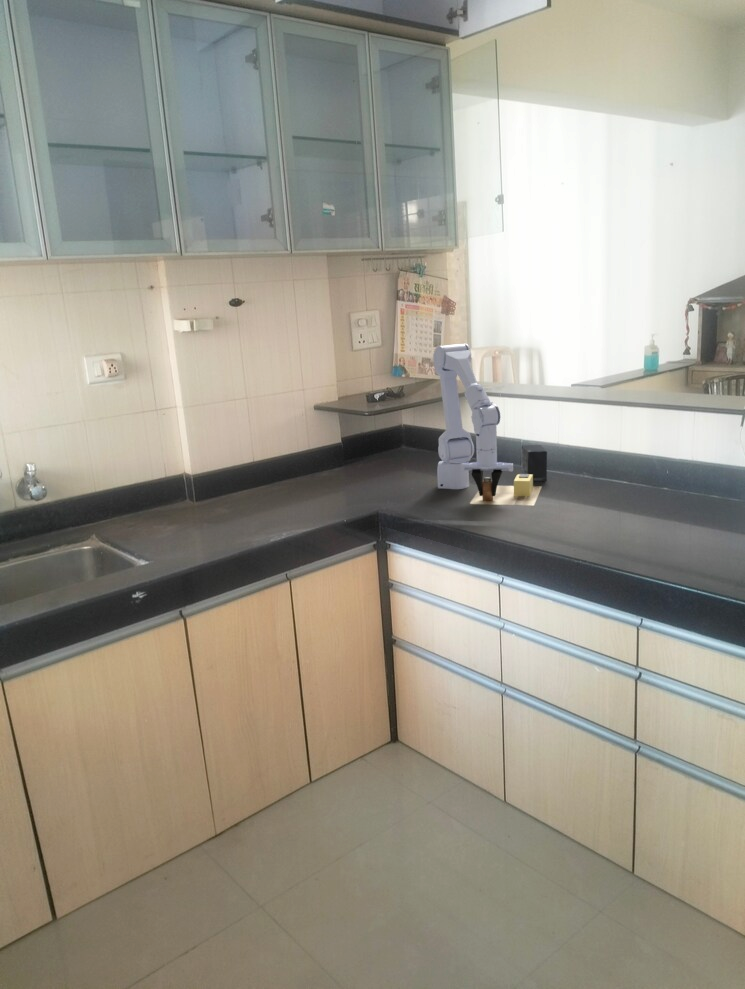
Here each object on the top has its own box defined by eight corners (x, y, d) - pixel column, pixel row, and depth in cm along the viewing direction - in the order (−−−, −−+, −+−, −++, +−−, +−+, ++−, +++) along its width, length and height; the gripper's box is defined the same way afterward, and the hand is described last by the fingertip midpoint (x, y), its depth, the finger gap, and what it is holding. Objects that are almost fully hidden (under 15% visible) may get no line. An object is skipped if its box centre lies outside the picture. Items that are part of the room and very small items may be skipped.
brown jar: (481, 501, 215) (481, 479, 213) (483, 498, 218) (482, 476, 216) (492, 501, 214) (491, 479, 212) (493, 498, 217) (493, 476, 215)
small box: (548, 483, 233) (548, 450, 231) (527, 485, 233) (526, 451, 231) (541, 475, 243) (541, 443, 241) (521, 477, 244) (520, 445, 241)
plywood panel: (469, 507, 213) (469, 503, 213) (482, 488, 232) (482, 485, 232) (534, 509, 208) (533, 505, 207) (541, 489, 227) (541, 486, 227)
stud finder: (513, 495, 218) (513, 479, 217) (517, 488, 225) (517, 473, 224) (529, 496, 217) (529, 480, 215) (532, 489, 224) (532, 473, 223)
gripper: (458, 451, 211) (459, 498, 214) (510, 451, 206) (511, 499, 209) (463, 446, 217) (464, 491, 220) (514, 446, 212) (514, 492, 216)
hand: (487, 495), depth 215 cm, fingers closed on brown jar, 3 cm apart
